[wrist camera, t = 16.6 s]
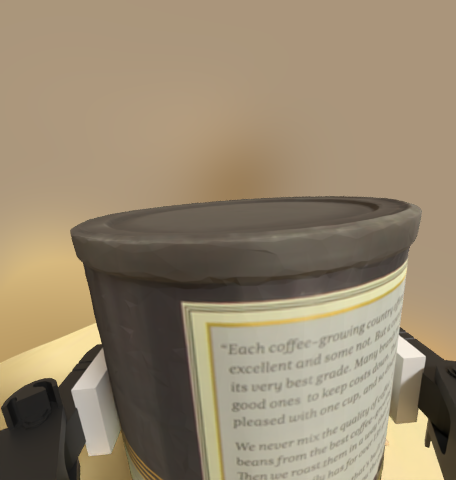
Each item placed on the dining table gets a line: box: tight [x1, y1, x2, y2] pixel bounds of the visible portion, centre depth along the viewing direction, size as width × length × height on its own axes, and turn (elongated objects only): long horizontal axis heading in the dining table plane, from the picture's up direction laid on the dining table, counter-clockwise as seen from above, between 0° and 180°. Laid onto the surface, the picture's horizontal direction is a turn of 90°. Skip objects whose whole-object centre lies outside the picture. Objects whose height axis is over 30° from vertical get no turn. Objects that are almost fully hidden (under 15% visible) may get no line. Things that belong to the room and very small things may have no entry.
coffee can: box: [71, 196, 422, 480], centre depth 10 cm, size 10×10×14 cm
